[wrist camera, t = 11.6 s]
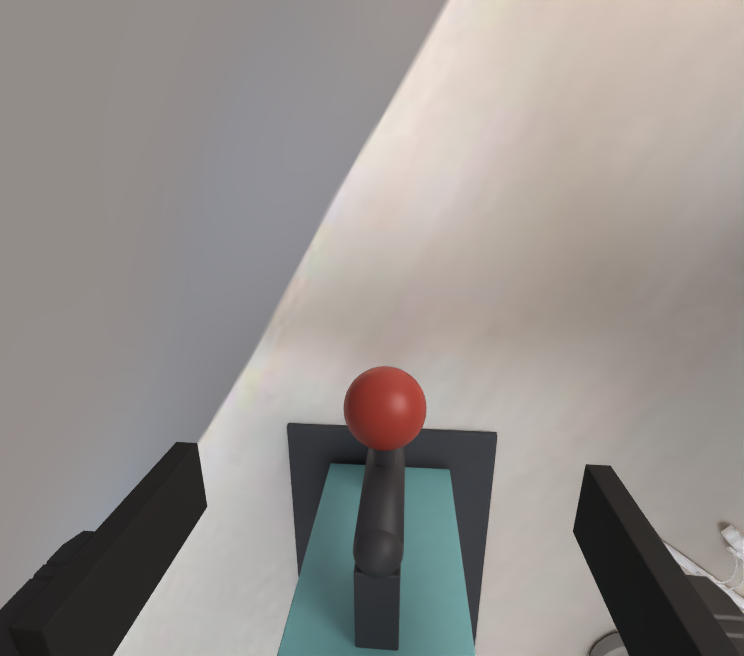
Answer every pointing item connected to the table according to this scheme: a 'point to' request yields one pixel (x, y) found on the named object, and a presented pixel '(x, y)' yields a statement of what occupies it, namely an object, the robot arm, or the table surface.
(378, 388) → the iron
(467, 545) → the ironing mat
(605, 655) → the travel mug
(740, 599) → the picture light
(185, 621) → the table surface
